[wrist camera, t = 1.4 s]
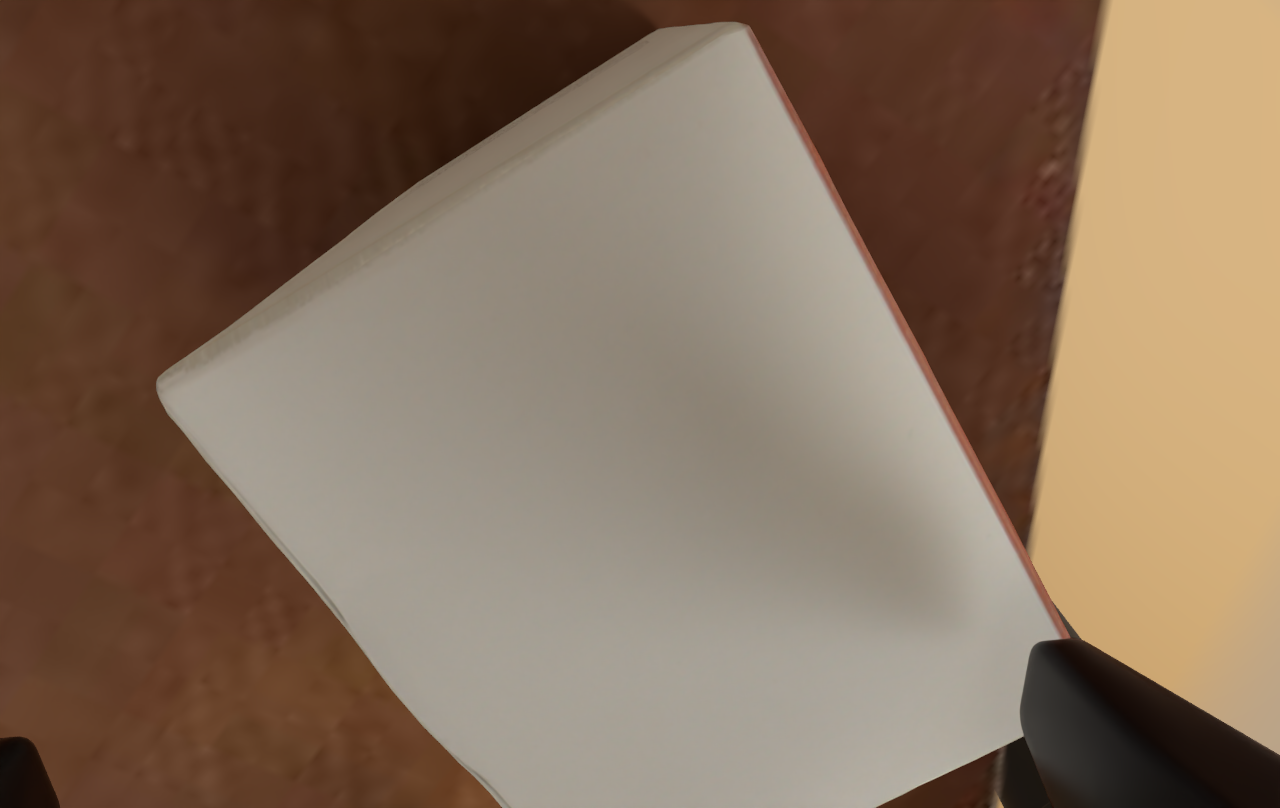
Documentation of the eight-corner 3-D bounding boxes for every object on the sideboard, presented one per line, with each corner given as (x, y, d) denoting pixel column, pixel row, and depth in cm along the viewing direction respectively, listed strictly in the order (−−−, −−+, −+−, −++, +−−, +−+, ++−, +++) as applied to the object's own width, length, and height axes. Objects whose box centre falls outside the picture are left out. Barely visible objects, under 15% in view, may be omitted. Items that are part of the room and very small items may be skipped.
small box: (842, 338, 22) (1117, 716, 10) (608, 469, 23) (604, 954, 11) (664, 14, 20) (748, -1, 7) (409, 179, 21) (119, 401, 8)
